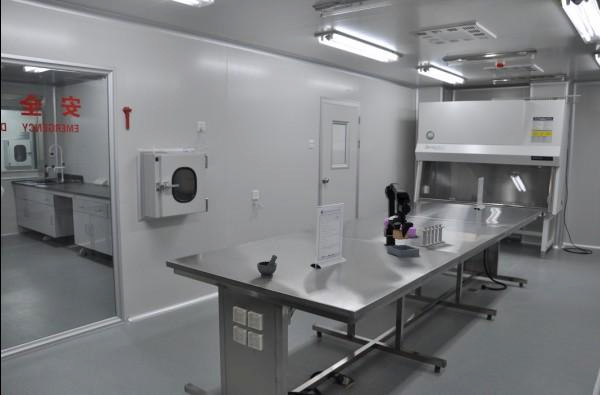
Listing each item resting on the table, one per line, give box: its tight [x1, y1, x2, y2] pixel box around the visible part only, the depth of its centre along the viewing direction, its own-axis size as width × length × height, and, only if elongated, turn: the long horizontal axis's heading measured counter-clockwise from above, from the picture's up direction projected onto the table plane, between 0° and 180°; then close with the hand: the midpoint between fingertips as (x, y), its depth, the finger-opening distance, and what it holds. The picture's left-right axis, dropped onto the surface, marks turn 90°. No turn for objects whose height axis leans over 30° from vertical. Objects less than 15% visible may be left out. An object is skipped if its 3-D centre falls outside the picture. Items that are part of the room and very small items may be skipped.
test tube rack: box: [419, 223, 446, 248], centre depth 318 cm, size 25×4×13 cm, turn 132°
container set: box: [383, 216, 417, 238], centre depth 351 cm, size 25×15×13 cm, turn 60°
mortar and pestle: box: [256, 254, 278, 279], centre depth 235 cm, size 11×9×12 cm
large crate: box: [386, 244, 420, 258], centre depth 289 cm, size 14×14×4 cm
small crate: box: [393, 229, 409, 241], centre depth 288 cm, size 6×6×5 cm
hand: (400, 236), depth 288 cm, fingers closed on small crate, 6 cm apart
